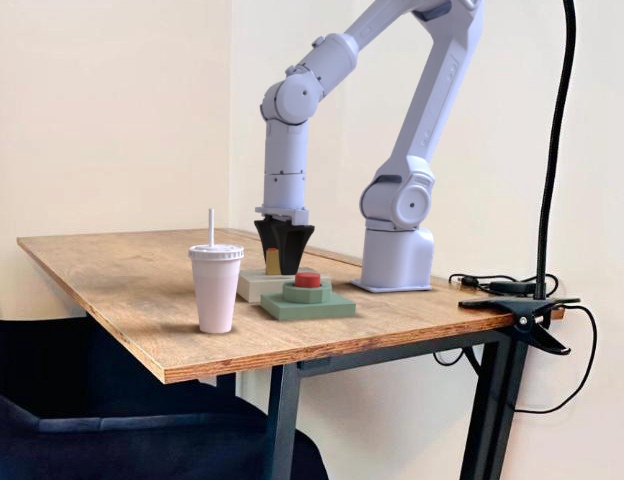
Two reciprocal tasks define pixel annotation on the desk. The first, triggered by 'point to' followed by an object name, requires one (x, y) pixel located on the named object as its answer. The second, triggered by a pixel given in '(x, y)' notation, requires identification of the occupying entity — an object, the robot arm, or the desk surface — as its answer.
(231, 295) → the smoothie
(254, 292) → the plate
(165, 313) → the desk surface
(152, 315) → the desk surface
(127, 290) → the desk surface
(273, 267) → the thumbturn
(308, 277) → the lock button
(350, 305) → the green square plate
